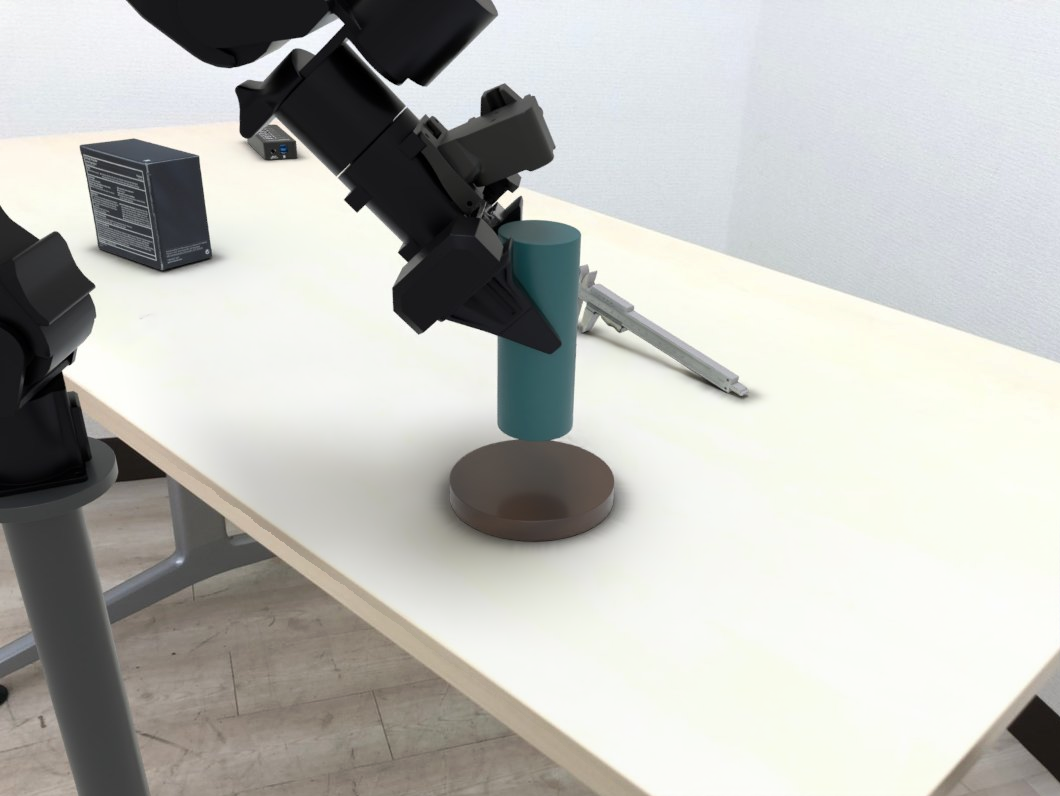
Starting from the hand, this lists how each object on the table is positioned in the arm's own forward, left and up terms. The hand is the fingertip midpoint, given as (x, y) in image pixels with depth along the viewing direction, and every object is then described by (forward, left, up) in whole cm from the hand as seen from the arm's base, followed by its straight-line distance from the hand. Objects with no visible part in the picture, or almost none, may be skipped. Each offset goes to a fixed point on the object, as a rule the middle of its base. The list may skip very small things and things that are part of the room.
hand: (558, 332), depth 66 cm
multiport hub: (+4, +100, -12) cm, 100 cm away
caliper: (+18, +17, -12) cm, 27 cm away
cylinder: (-1, +1, -7) cm, 7 cm away
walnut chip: (-2, 0, -11) cm, 12 cm away
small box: (-17, +59, -12) cm, 62 cm away
